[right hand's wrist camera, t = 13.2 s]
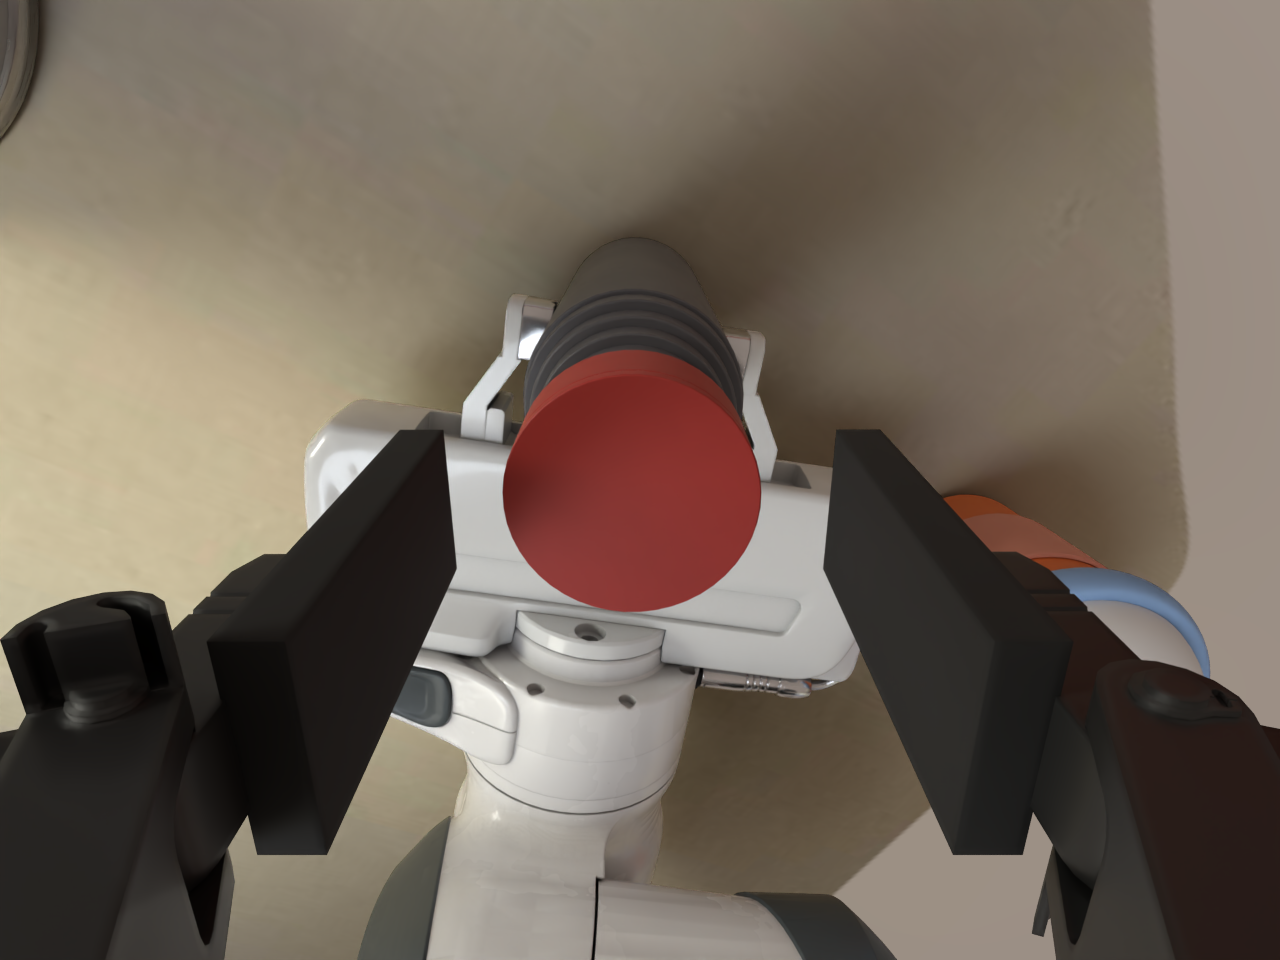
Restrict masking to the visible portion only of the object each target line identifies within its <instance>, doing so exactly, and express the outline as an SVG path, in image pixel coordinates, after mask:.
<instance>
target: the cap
mask: <svg viewBox="0 0 1280 960" xmlns="http://www.w3.org/2000/svg"><path fill="white" fill-rule="evenodd" d="M502 494H503V508H504V513H505V517H506V522H507V525H508V528H509V531H510V533H511V536H512V539H513V540H514V542H515V544H516V546H517V548H518V550H519V552H520V553H521V554H522V556H523V557H524V559H525V560H526V562H527V563H528V564H529V565H530V566H531V568H532V569H533V570H534V571H535V572H536V573H537V574H538V575H539V576H540V577H541V578H542V579H544V580H545V581H546V582H547V583H548V584H549V585H551V586H552V587H554V588H555V589H557V590H558V591H560V592H561V593H563V594H565V595H567V596H569V597H571V598H573V599H575V600H577V601H579V602H582V603H584V604H587V605H590V606H593V607H597V608H601V609H606V610H612V611H621V612H644V611H653V610H659V609H663V608H667V607H672V606H674V605H677V604H680V603H683V602H686V601H688V600H690V599H692V598H694V597H696V596H698V595H700V594H702V593H703V592H705V591H706V590H708V589H709V588H711V587H712V586H714V585H715V584H716V583H717V582H718V581H720V580H721V579H722V578H723V577H724V576H725V575H726V574H727V573H728V572H729V571H730V570H731V569H732V568H733V567H734V566H735V565H736V563H737V562H738V560H739V559H740V558H741V556H742V555H743V553H744V552H745V550H746V548H747V546H748V544H749V543H750V541H751V539H752V536H753V534H754V531H755V528H756V525H757V522H758V517H759V513H760V508H761V479H760V473H759V469H758V464H757V460H756V458H755V455H754V453H753V450H752V447H751V445H750V442H749V440H748V437H747V435H746V432H745V430H744V427H743V425H742V422H741V420H740V417H739V415H738V413H737V411H736V410H735V408H734V406H733V404H732V402H731V401H730V400H729V398H728V397H727V396H726V394H725V393H724V392H723V390H722V389H721V388H720V387H719V386H718V385H717V384H716V383H715V382H714V381H713V380H712V379H711V378H709V377H708V376H707V375H705V374H704V373H703V372H702V371H700V370H699V369H697V368H695V367H694V366H692V365H690V364H688V363H687V362H684V361H682V360H680V359H677V358H675V357H672V356H669V355H665V354H662V353H658V352H652V351H644V350H620V351H613V352H607V353H603V354H599V355H595V356H592V357H590V358H587V359H585V360H582V361H580V362H578V363H576V364H574V365H573V366H571V367H569V368H567V369H566V370H564V371H563V372H562V373H560V374H559V375H558V376H557V377H555V378H554V379H553V380H552V381H551V382H550V383H549V384H548V385H547V386H546V387H545V388H544V389H543V390H542V391H541V392H540V394H539V395H538V397H537V398H536V399H535V401H534V402H533V404H532V405H531V407H530V409H529V411H528V413H527V415H526V417H525V419H524V421H523V424H522V426H521V428H520V430H519V433H518V435H517V437H516V440H515V442H514V444H513V446H512V449H511V452H510V454H509V457H508V460H507V463H506V468H505V472H504V477H503V490H502Z"/></svg>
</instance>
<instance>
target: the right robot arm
mask: <svg viewBox="0 0 1280 960" xmlns="http://www.w3.org/2000/svg"><path fill="white" fill-rule="evenodd" d="M38 29H39V18H38V0H0V138H1V137H2V136H3V134H4V133H5V132H6V130H7V129H8V128H9V126H10V125H11V124H12V122H13V120H14V118H15V116H16V115H17V113H18V111H19V109H20V108H21V105H22V103H23V100H24V98H25V95H26V93H27V91H28V88H29V84H30V81H31V77H32V74H33V70H34V64H35V59H36V53H37V44H38ZM456 570H457V563H456V553H455V542H454V532H453V522H452V511H451V501H450V491H449V481H448V470H447V460H446V450H445V439H444V430H399V431H398V432H397V433H396V435H395V436H394V437H393V438H392V439H391V440H390V441H389V442H388V443H387V444H386V445H385V447H384V448H383V449H382V450H381V451H380V452H379V453H378V454H377V455H376V456H375V457H374V459H373V460H372V461H371V462H370V463H369V464H368V465H367V466H366V467H365V468H364V470H363V471H362V472H361V473H360V474H359V475H358V476H357V477H356V478H355V479H354V480H353V482H352V483H351V484H350V485H349V486H348V487H347V488H346V489H345V490H344V491H343V493H342V494H341V495H340V496H339V497H338V498H337V499H336V500H335V501H334V502H333V503H332V505H331V506H330V507H329V508H328V509H327V510H326V511H325V512H324V513H323V514H322V516H321V517H320V518H319V519H318V520H317V521H316V522H315V523H314V524H313V525H312V526H311V528H310V529H309V530H308V531H307V532H306V533H305V534H304V535H303V536H302V537H301V538H300V540H299V541H298V542H297V543H296V544H295V545H294V546H293V547H292V548H291V549H290V551H289V552H288V553H287V554H264V555H262V556H260V557H258V558H256V559H254V560H253V561H251V562H249V563H247V564H245V565H243V566H241V567H240V568H238V569H236V570H234V571H232V572H231V573H230V574H229V575H228V576H227V577H226V578H225V579H224V580H223V581H222V582H221V583H220V584H219V585H218V586H217V587H216V588H215V589H214V590H213V591H212V592H211V596H210V597H206V598H205V599H204V600H203V601H202V602H201V603H200V604H199V605H198V606H197V607H196V608H195V609H194V610H193V614H189V615H188V616H187V617H186V618H185V619H183V620H182V621H181V622H180V623H179V624H178V625H177V626H176V627H175V628H174V629H173V630H172V629H171V625H170V621H169V617H168V613H167V610H166V606H165V602H164V601H163V600H161V599H160V598H158V597H156V596H155V595H153V594H150V593H143V592H136V591H120V592H106V593H99V594H95V595H90V596H86V597H81V598H77V599H72V600H69V601H67V602H64V603H61V604H59V605H56V606H53V607H50V608H48V609H45V610H42V611H40V612H38V613H37V614H35V615H33V616H31V617H29V618H27V619H26V620H24V621H22V622H20V623H18V624H17V625H15V626H14V627H13V628H12V629H11V630H10V631H9V632H8V633H7V634H6V635H5V636H4V637H3V638H1V639H0V641H1V644H2V647H3V650H4V653H5V655H6V658H7V661H8V664H9V667H10V670H11V672H12V675H13V678H14V681H15V684H16V687H17V689H18V692H19V695H20V698H21V701H22V704H23V706H24V709H25V712H26V716H25V718H24V720H23V722H22V723H21V725H20V727H19V729H17V730H12V731H7V732H1V733H0V960H224V956H225V949H226V941H227V934H228V927H229V919H230V912H231V905H232V898H233V890H234V883H235V880H234V874H233V867H232V863H231V859H230V855H229V851H228V846H229V845H230V843H231V841H232V840H233V838H234V836H235V835H236V833H237V832H238V830H239V828H240V827H241V825H242V823H243V822H244V820H245V818H246V817H247V815H248V818H249V822H250V826H251V830H252V834H253V839H254V843H255V847H256V851H257V855H327V853H328V851H329V849H330V847H331V845H332V842H333V840H334V838H335V836H336V834H337V832H338V829H339V827H340V825H341V823H342V821H343V818H344V816H345V814H346V812H347V810H348V807H349V805H350V803H351V801H352V799H353V796H354V794H355V792H356V790H357V788H358V785H359V783H360V781H361V779H362V777H363V774H364V772H365V770H366V768H367V766H368V763H369V761H370V759H371V757H372V755H373V752H374V750H375V748H376V746H377V744H378V741H379V739H380V737H381V735H382V733H383V730H384V728H385V726H386V724H387V722H388V719H389V717H390V715H391V713H392V711H393V708H394V706H395V704H396V702H397V700H398V697H399V695H400V693H401V691H402V689H403V687H404V684H405V682H406V680H407V678H408V676H409V673H410V671H411V669H412V667H413V665H414V662H415V660H416V658H417V656H418V654H419V651H420V649H421V647H422V645H423V643H424V640H425V638H426V636H427V634H428V632H429V629H430V627H431V625H432V623H433V621H434V618H435V616H436V614H437V612H438V610H439V607H440V605H441V603H442V601H443V599H444V596H445V594H446V592H447V590H448V588H449V585H450V583H451V581H452V579H453V577H454V574H455V572H456ZM823 570H824V572H825V574H826V577H827V579H828V581H829V583H830V585H831V588H832V590H833V592H834V594H835V596H836V599H837V601H838V603H839V605H840V607H841V610H842V612H843V614H844V616H845V618H846V621H847V623H848V625H849V627H850V629H851V632H852V634H853V636H854V638H855V640H856V643H857V645H858V647H859V649H860V651H861V654H862V656H863V658H864V660H865V662H866V665H867V667H868V669H869V671H870V673H871V676H872V678H873V680H874V682H875V684H876V687H877V689H878V691H879V693H880V695H881V697H882V700H883V702H884V704H885V706H886V708H887V711H888V713H889V715H890V717H891V719H892V722H893V724H894V726H895V728H896V730H897V733H898V735H899V737H900V739H901V741H902V744H903V746H904V748H905V750H906V752H907V755H908V757H909V759H910V761H911V763H912V766H913V768H914V770H915V772H916V774H917V777H918V779H919V781H920V783H921V785H922V788H923V790H924V792H925V794H926V796H927V799H928V801H929V803H930V805H931V807H932V809H933V812H934V814H935V816H936V818H937V820H938V823H939V825H940V827H941V829H942V831H943V834H944V836H945V838H946V840H947V842H948V845H949V847H950V849H951V851H952V853H953V855H1023V851H1024V847H1025V843H1026V839H1027V834H1028V830H1029V826H1030V822H1031V818H1032V813H1033V812H1034V814H1035V816H1036V817H1037V819H1038V821H1039V822H1040V824H1041V826H1042V827H1043V829H1044V831H1045V832H1046V834H1047V835H1048V837H1049V839H1050V840H1051V842H1052V844H1053V847H1052V851H1051V855H1050V859H1049V863H1048V866H1047V870H1046V874H1045V878H1044V882H1043V886H1042V890H1041V894H1040V898H1039V902H1038V905H1037V909H1036V913H1035V917H1034V924H1033V930H1032V934H1035V935H1038V936H1042V937H1043V936H1044V933H1045V929H1046V925H1047V922H1048V919H1050V918H1051V925H1052V932H1053V939H1054V946H1055V954H1056V960H1280V729H1277V728H1272V727H1267V726H1262V725H1260V724H1259V722H1258V720H1257V718H1256V717H1255V715H1254V713H1253V712H1252V711H1251V710H1250V709H1249V708H1248V707H1247V705H1246V704H1245V703H1244V702H1243V701H1242V700H1241V699H1240V697H1239V696H1237V695H1235V694H1234V693H1232V692H1231V691H1229V690H1228V689H1226V688H1225V687H1223V686H1222V685H1220V684H1219V683H1217V682H1216V681H1214V680H1211V679H1209V678H1207V677H1204V676H1202V675H1200V674H1197V673H1195V672H1193V671H1190V670H1188V669H1185V668H1182V667H1178V666H1174V665H1170V664H1166V663H1162V662H1158V661H1149V660H1141V659H1140V658H1139V657H1138V656H1137V655H1136V654H1135V653H1134V652H1133V651H1132V650H1131V649H1130V648H1129V647H1128V646H1127V645H1126V644H1125V643H1124V642H1123V641H1122V640H1121V639H1120V638H1119V637H1118V636H1117V635H1116V634H1115V633H1114V632H1112V631H1111V630H1110V629H1109V628H1108V627H1107V626H1106V625H1105V624H1104V623H1103V622H1102V621H1101V620H1100V619H1099V618H1098V617H1097V616H1096V615H1095V614H1094V613H1093V612H1092V611H1088V610H1087V606H1086V605H1085V604H1084V603H1083V602H1082V601H1081V600H1080V599H1079V598H1078V597H1077V596H1076V595H1075V594H1070V589H1069V588H1068V587H1067V586H1066V585H1065V584H1064V583H1063V582H1062V581H1061V580H1060V579H1059V578H1058V577H1057V576H1056V575H1055V574H1054V573H1052V572H1051V571H1050V570H1049V569H1048V568H1046V567H1044V566H1042V565H1040V564H1039V563H1037V562H1035V561H1033V560H1031V559H1029V558H1027V557H1026V556H1024V555H1022V554H1020V553H1018V552H991V551H990V549H989V548H988V547H987V546H986V545H985V544H984V543H983V542H982V541H981V540H980V538H979V537H978V536H977V535H976V534H975V533H974V532H973V531H972V530H971V529H970V528H969V526H968V525H967V524H966V523H965V522H964V521H963V520H962V519H961V518H960V517H959V516H958V514H957V513H956V512H955V511H954V510H953V509H952V508H951V507H950V506H949V505H948V503H947V502H946V501H945V500H944V499H943V498H942V497H941V496H940V495H939V494H938V493H937V491H936V490H935V489H934V488H933V487H932V486H931V485H930V484H929V483H928V482H927V480H926V479H925V478H924V477H923V476H922V475H921V474H920V473H919V472H918V471H917V470H916V468H915V467H914V466H913V465H912V464H911V463H910V462H909V461H908V460H907V459H906V457H905V456H904V455H903V454H902V453H901V452H900V451H899V450H898V449H897V448H896V447H895V445H894V444H893V443H892V442H891V441H890V440H889V439H888V438H887V437H886V436H885V435H884V433H883V432H882V431H881V430H836V439H835V450H834V460H833V470H832V481H831V491H830V501H829V511H828V522H827V532H826V542H825V553H824V563H823Z"/></svg>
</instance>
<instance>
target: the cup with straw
mask: <svg viewBox="0 0 1280 960" xmlns="http://www.w3.org/2000/svg"><path fill="white" fill-rule="evenodd" d="M943 499H944V500H945V501H946V502H947V503H948V505H949V506H950V507H951V508H952V509H953V510H954V511H955V512H956V513H957V514H958V516H959V517H960V518H961V519H962V520H963V521H964V522H965V523H966V524H967V525H968V526H969V528H970V529H971V530H972V531H973V532H974V533H975V534H976V535H977V536H978V537H979V538H980V540H981V541H982V542H983V543H984V544H985V545H986V546H987V547H988V548H989V549H990V551H991V552H1018V553H1020V554H1022V555H1024V556H1026V557H1027V558H1029V559H1031V560H1033V561H1035V562H1037V563H1039V564H1040V565H1042V566H1044V567H1046V568H1048V569H1049V570H1050V571H1051V572H1052V573H1054V574H1055V575H1056V576H1057V577H1058V578H1059V579H1060V580H1061V581H1062V582H1063V583H1064V584H1065V585H1066V586H1067V587H1068V588H1069V589H1070V594H1075V595H1076V596H1077V597H1078V598H1079V599H1080V600H1081V601H1082V602H1083V603H1084V604H1085V605H1086V606H1087V610H1088V611H1092V612H1093V613H1094V614H1095V615H1096V616H1097V617H1098V618H1099V619H1100V620H1101V621H1102V622H1103V623H1104V624H1105V625H1106V626H1107V627H1108V628H1109V629H1110V630H1111V631H1112V632H1114V633H1115V634H1116V635H1117V636H1118V637H1119V638H1120V639H1121V640H1122V641H1123V642H1124V643H1125V644H1126V645H1127V646H1128V647H1129V648H1130V649H1131V650H1132V651H1133V652H1134V653H1135V654H1136V655H1137V656H1138V657H1139V658H1140V659H1141V660H1149V661H1158V662H1162V663H1166V664H1170V665H1174V666H1178V667H1182V668H1185V669H1188V670H1190V671H1193V672H1195V673H1197V674H1200V675H1202V676H1204V677H1207V678H1209V679H1210V662H1209V656H1208V651H1207V648H1206V645H1205V642H1204V639H1203V636H1202V634H1201V632H1200V630H1199V628H1198V626H1197V625H1196V623H1195V622H1194V620H1193V619H1192V617H1191V616H1190V615H1189V613H1188V612H1187V611H1186V610H1185V609H1184V608H1183V607H1182V605H1181V604H1180V603H1179V602H1177V601H1176V600H1175V599H1174V598H1173V597H1172V596H1170V595H1169V594H1168V593H1167V592H1165V591H1164V590H1162V589H1161V588H1159V587H1158V586H1156V585H1154V584H1152V583H1150V582H1148V581H1146V580H1144V579H1142V578H1139V577H1137V576H1134V575H1131V574H1128V573H1124V572H1121V571H1116V570H1111V569H1108V568H1106V567H1105V566H1103V565H1102V564H1100V563H1099V562H1097V561H1096V560H1094V559H1093V558H1091V557H1090V556H1088V555H1087V554H1085V553H1084V552H1082V551H1081V550H1079V549H1078V548H1076V547H1075V546H1073V545H1071V544H1070V543H1068V542H1067V541H1065V540H1064V539H1062V538H1061V537H1059V536H1058V535H1056V534H1055V533H1053V532H1052V531H1050V530H1049V529H1047V528H1046V527H1044V526H1043V525H1041V524H1039V523H1037V522H1035V521H1033V520H1031V519H1028V518H1025V517H1022V516H1020V515H1018V514H1017V513H1015V512H1013V511H1012V510H1010V509H1009V508H1007V507H1006V506H1004V505H1003V504H1001V503H999V502H997V501H995V500H993V499H990V498H987V497H983V496H978V495H954V496H949V497H945V498H943Z"/></svg>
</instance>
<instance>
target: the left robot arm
mask: <svg viewBox="0 0 1280 960" xmlns="http://www.w3.org/2000/svg"><path fill="white" fill-rule="evenodd" d="M557 307H558V301H557V300H551V299H545V298H540V297H534V296H528V295H523V294H513V295H512V296H511V297H510V298H509V301H508V306H507V310H506V318H505V329H504V340H503V349H502V351H501V352H500V354H499V355H498V356H497V358H496V359H495V360H494V362H493V363H492V364H491V366H490V367H489V368H488V370H487V371H486V373H485V374H484V375H483V377H482V378H481V379H480V381H479V382H478V383H477V385H476V386H475V387H474V389H473V390H472V392H471V393H470V394H469V396H468V397H467V398H466V400H465V401H464V402H463V410H462V413H458V412H451V411H445V410H438V409H431V408H424V407H417V406H411V405H404V404H397V403H390V402H384V401H377V400H370V399H359V400H356V401H353V402H351V403H350V404H348V405H347V406H346V407H344V408H343V409H341V410H340V411H339V412H337V413H336V414H335V415H333V416H332V417H331V418H330V419H329V420H328V421H326V422H325V423H324V424H323V425H322V426H321V427H320V428H319V430H318V431H317V432H316V433H315V434H314V435H313V437H312V438H311V440H310V442H309V444H308V446H307V449H306V453H305V462H304V492H305V510H306V521H307V531H308V530H309V529H310V528H311V526H312V525H313V524H314V523H315V522H316V521H317V520H318V519H319V518H320V517H321V516H322V514H323V513H324V512H325V511H326V510H327V509H328V508H329V507H330V506H331V505H332V503H333V502H334V501H335V500H336V499H337V498H338V497H339V496H340V495H341V494H342V493H343V491H344V490H345V489H346V488H347V487H348V486H349V485H350V484H351V483H352V482H353V480H354V479H355V478H356V477H357V476H358V475H359V474H360V473H361V472H362V471H363V470H364V468H365V467H366V466H367V465H368V464H369V463H370V462H371V461H372V460H373V459H374V457H375V456H376V455H377V454H378V453H379V452H380V451H381V450H382V449H383V448H384V447H385V445H386V444H387V443H388V442H389V441H390V440H391V439H392V438H393V437H394V436H395V435H396V433H397V432H398V431H399V430H444V439H445V450H446V460H447V470H448V481H449V491H450V501H451V511H452V522H453V532H454V542H455V553H456V563H457V570H456V572H455V574H454V577H453V579H452V581H451V583H450V585H449V588H448V590H447V592H446V594H445V596H444V599H443V601H442V603H441V605H440V607H439V610H438V612H437V614H436V616H435V618H434V621H433V623H432V625H431V627H430V629H429V632H428V634H427V636H426V638H425V640H424V643H423V645H422V647H421V649H420V651H419V654H418V656H417V658H416V660H415V662H414V665H413V667H412V669H411V671H410V673H409V676H408V678H407V680H406V682H405V684H404V687H403V689H402V691H401V693H400V695H399V697H398V700H397V702H396V704H395V706H394V708H393V711H392V713H391V715H390V717H393V718H395V719H398V720H400V721H403V722H405V723H407V724H410V725H412V726H414V727H417V728H419V729H421V730H423V731H426V732H428V733H430V734H432V735H434V736H436V737H438V738H440V739H442V740H444V741H446V742H448V743H450V744H452V745H454V746H456V747H457V748H459V749H461V750H463V751H464V754H465V758H466V763H467V770H468V773H467V776H466V778H465V780H464V782H463V784H462V786H461V788H460V791H459V793H458V796H457V801H456V806H455V811H454V817H453V818H452V817H451V816H449V817H447V818H446V819H444V820H443V821H442V822H440V823H439V824H438V825H436V826H435V827H434V828H433V829H432V830H431V831H430V832H429V833H428V834H426V835H425V836H424V837H423V839H422V840H421V841H420V842H419V843H418V844H417V845H416V846H415V847H414V848H413V849H412V850H411V851H410V852H409V853H408V854H407V856H406V857H405V858H404V859H403V860H402V861H401V862H400V863H399V864H398V865H397V866H396V868H395V869H394V870H393V872H392V874H391V875H390V877H389V879H388V880H387V882H386V884H385V886H384V888H383V890H382V891H381V893H380V896H379V898H378V900H377V902H376V904H375V907H374V909H373V912H372V914H371V917H370V919H369V922H368V925H367V928H366V931H365V934H364V938H363V941H362V944H361V948H360V951H359V955H358V959H357V960H897V959H896V958H895V957H894V955H893V954H892V953H891V952H890V950H889V949H888V948H887V947H886V946H885V944H884V943H883V942H882V941H881V940H880V939H879V938H878V937H877V936H876V935H875V934H874V932H873V931H872V930H871V929H870V928H869V927H868V926H867V925H866V924H865V923H864V922H863V921H862V920H861V919H860V918H859V917H858V916H857V915H856V914H855V913H854V912H853V911H851V910H850V909H849V908H848V907H847V906H846V905H845V904H844V903H843V902H842V901H841V900H839V899H838V898H836V897H834V896H831V895H827V894H798V893H765V892H740V893H736V894H734V895H729V894H721V893H714V892H706V891H698V890H691V889H683V888H675V887H667V886H660V885H652V884H651V882H652V878H653V875H654V871H655V867H656V863H657V859H658V855H659V851H660V846H661V840H662V833H663V813H662V807H661V798H662V796H663V795H664V793H665V792H666V790H667V789H668V787H669V785H670V784H671V782H672V780H673V778H674V775H675V773H676V770H677V767H678V763H679V759H680V755H681V750H682V746H683V741H684V737H685V732H686V727H687V723H688V718H689V714H690V710H691V706H692V701H693V695H694V690H695V688H697V686H698V687H705V688H713V689H721V690H729V691H741V692H743V691H744V692H747V691H753V692H756V691H758V692H765V693H772V694H774V695H775V696H779V697H784V698H793V699H796V698H807V697H809V695H810V694H811V691H814V690H822V689H825V688H829V687H831V686H834V685H835V684H837V683H839V682H842V681H845V680H846V679H847V678H848V677H849V676H850V675H851V673H852V672H853V670H854V668H855V665H856V662H857V659H858V655H859V652H860V649H859V647H858V645H857V643H856V640H855V638H854V636H853V634H852V632H851V629H850V627H849V625H848V623H847V621H846V618H845V616H844V614H843V612H842V610H841V607H840V605H839V603H838V601H837V599H836V596H835V594H834V592H833V590H832V588H831V585H830V583H829V581H828V579H827V577H826V574H825V572H824V570H823V563H824V553H825V542H826V532H827V522H828V511H829V501H830V491H831V481H832V470H833V468H832V467H825V466H818V465H811V464H805V463H798V462H791V461H784V460H778V459H776V455H777V451H778V449H777V446H776V443H775V440H774V437H773V434H772V431H771V429H770V426H769V423H768V420H767V417H766V414H765V411H764V408H763V405H762V402H761V399H760V396H759V394H758V392H757V386H758V382H759V377H760V373H761V368H762V363H763V359H764V354H765V344H766V340H765V337H764V336H763V334H762V333H761V332H758V331H751V330H745V329H738V328H731V327H724V326H721V327H722V329H723V331H724V333H725V335H726V337H727V339H728V341H729V343H730V345H731V347H732V348H733V350H734V352H735V355H736V358H737V360H738V363H739V366H740V370H741V375H742V379H743V391H744V398H743V413H742V414H743V417H744V420H745V423H746V426H747V427H746V431H745V432H746V435H747V437H748V440H749V442H750V445H751V447H752V450H753V453H754V455H755V458H756V460H757V464H758V469H759V473H760V479H761V508H760V513H759V517H758V522H757V525H756V528H755V531H754V534H753V536H752V539H751V541H750V543H749V544H748V546H747V548H746V550H745V552H744V553H743V555H742V556H741V558H740V559H739V560H738V562H737V563H736V565H735V566H734V567H733V568H732V569H731V570H730V571H729V572H728V573H727V574H726V575H725V576H724V577H723V578H722V579H721V580H720V581H718V582H717V583H716V584H715V585H714V586H712V587H711V588H709V589H708V590H706V591H705V592H703V593H702V594H700V595H698V596H696V597H694V598H692V599H690V600H688V601H686V602H683V603H680V604H677V605H674V606H672V607H667V608H663V609H659V610H653V611H644V612H621V611H612V610H606V609H601V608H597V607H593V606H590V605H587V604H584V603H582V602H579V601H577V600H575V599H573V598H571V597H569V596H567V595H565V594H563V593H561V592H560V591H558V590H557V589H555V588H554V587H552V586H551V585H549V584H548V583H547V582H546V581H545V580H544V579H542V578H541V577H540V576H539V575H538V574H537V573H536V572H535V571H534V570H533V569H532V568H531V566H530V565H529V564H528V563H527V562H526V560H525V559H524V557H523V556H522V554H521V553H520V552H519V550H518V548H517V546H516V544H515V542H514V540H513V539H512V536H511V533H510V531H509V528H508V525H507V522H506V517H505V513H504V508H503V494H502V490H503V477H504V472H505V468H506V463H507V460H508V457H509V454H510V452H511V449H512V446H513V444H514V442H515V440H516V437H517V435H518V433H519V430H520V428H521V426H522V424H523V422H519V421H513V420H512V414H513V402H514V395H513V394H512V393H511V392H506V391H501V392H499V393H498V391H499V390H500V389H501V387H502V386H503V385H504V383H505V382H506V381H507V379H508V378H509V377H510V375H511V374H512V373H513V371H514V370H515V369H516V367H517V366H518V365H519V363H520V362H521V361H522V359H525V360H530V357H531V355H532V352H533V350H534V348H535V346H536V345H537V343H538V341H539V339H540V337H541V335H542V334H543V332H544V330H545V328H546V326H547V325H548V323H549V321H550V319H551V317H552V316H553V314H554V312H555V310H556V308H557ZM744 430H745V429H744ZM812 679H817V680H812Z"/></svg>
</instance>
